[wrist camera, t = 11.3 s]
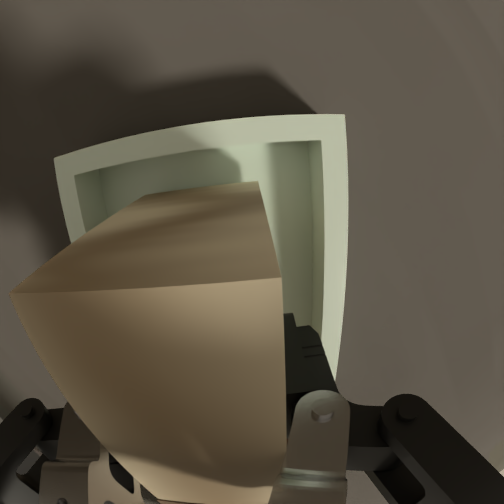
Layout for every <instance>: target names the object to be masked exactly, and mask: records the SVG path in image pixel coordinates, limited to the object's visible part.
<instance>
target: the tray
mask: <svg viewBox="0 0 504 504" xmlns="http://www.w3.org/2000/svg"><path fill="white" fill-rule="evenodd" d="M54 165H55V171H56V177H57V183H58V189H59V194H60V199H61V204H62V209H63V213H64V217H65V222H66V226H67V230H68V234H69V237H70V241H71V243H73V242H74V241H76V240H77V239H78V238H80V237H81V236H83V235H84V234H85V233H87V232H88V231H90V230H91V229H93V228H94V227H96V226H97V225H99V224H100V223H102V222H103V221H105V220H106V219H108V218H109V217H111V216H112V215H114V214H115V213H117V212H118V211H120V210H121V209H123V208H125V207H126V206H128V205H129V204H131V203H133V202H134V201H136V200H137V199H139V198H141V197H142V196H144V195H148V194H154V193H160V192H167V191H174V190H181V189H189V188H197V187H205V186H213V185H222V184H231V183H241V182H252V181H258V183H259V187H260V191H261V195H262V199H263V203H264V207H265V211H266V215H267V219H268V223H269V227H270V231H271V235H272V239H273V243H274V248H275V252H276V256H277V260H278V264H279V269H280V273H281V277H282V296H283V314H284V313H293V315H294V318H295V322H296V326H297V327H298V326H306V325H310V326H311V327H312V328H313V329H314V330H315V331H316V332H317V333H318V334H319V336H320V339H321V342H322V346H323V348H324V351H325V355H326V357H327V360H328V363H329V366H330V369H331V372H332V375H333V378H334V381H335V378H336V371H337V364H338V356H339V348H340V340H341V331H342V321H343V310H344V298H345V285H346V268H347V245H348V165H347V143H346V127H345V115H344V114H301V115H276V116H260V117H248V118H237V119H228V120H219V121H211V122H204V123H197V124H190V125H184V126H178V127H172V128H167V129H162V130H157V131H152V132H147V133H142V134H137V135H133V136H129V137H125V138H120V139H116V140H112V141H109V142H105V143H101V144H97V145H94V146H90V147H87V148H84V149H80V150H77V151H74V152H71V153H68V154H64V155H61V156H58V157H56V158H54Z"/></svg>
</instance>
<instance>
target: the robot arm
mask: <svg viewBox="0 0 504 504" xmlns="http://www.w3.org/2000/svg"><path fill="white" fill-rule="evenodd" d="M283 318H284V344H285V377H286V435H287V439H288V438H289V439H288V443H287V452H285V455H284V459H283V463H282V467H281V470H280V473H279V474H278V475H277V477H276V480H275V482H274V485H273V488H272V492H271V495H270V499H269V502H268V504H346V497H347V479H346V470H356V471H365V473H366V474H367V475H368V477H369V478H370V479H371V481H372V482H373V483H374V485H375V486H376V487H377V489H378V490H379V491H380V493H381V494H382V495H383V496H384V498H385V499H386V500H387V502H388V503H389V504H504V477H503V476H502V475H501V474H500V473H499V472H498V471H497V470H496V469H495V468H494V467H493V466H492V465H491V464H490V463H489V462H488V461H487V460H486V459H485V458H484V457H483V456H482V455H481V454H480V453H479V452H478V451H477V450H476V449H475V448H474V447H473V446H472V445H471V444H469V443H468V442H467V441H466V440H465V439H464V438H463V437H462V436H461V435H460V434H459V433H458V432H457V431H456V430H455V429H454V428H453V427H452V426H451V425H450V424H449V423H448V422H447V421H446V420H445V419H444V418H443V417H442V416H441V415H439V414H438V413H437V412H436V411H435V410H434V409H433V408H432V407H431V406H430V405H429V404H428V403H427V402H426V401H425V400H423V399H422V398H420V397H419V396H416V395H412V394H400V395H397V396H394V397H392V398H391V399H389V400H388V401H387V402H386V403H385V405H384V406H363V405H357V404H354V403H351V402H349V401H348V400H346V399H345V398H344V397H343V396H342V395H341V394H340V393H339V392H338V389H337V387H336V384H335V381H334V378H333V375H332V372H331V369H330V366H329V363H328V360H327V357H326V355H325V351H324V348H323V346H322V342H321V339H320V336H319V334H318V333H317V332H316V331H315V330H314V329H313V328H312V327H311V326H310V325H306V326H298V327H297V326H296V322H295V318H294V315H293V313H284V314H283ZM35 446H36V447H37V448H38V449H39V450H40V451H41V452H42V453H43V454H42V455H41V456H40V458H39V459H38V460H37V461H36V463H35V464H34V465H33V466H32V468H31V469H30V470H29V471H28V472H27V473H26V474H24V475H20V474H18V473H16V470H17V468H18V467H19V466H20V464H21V463H22V462H23V461H24V459H25V458H26V457H27V456H28V455H29V453H30V452H31V451H32V450H33V449H34V447H35ZM0 504H145V503H144V501H143V499H142V496H141V491H140V483H139V482H138V481H137V480H136V479H135V478H134V477H133V476H132V475H131V474H130V473H129V472H128V471H127V470H126V469H125V468H124V467H123V466H122V465H121V464H120V463H119V462H118V461H117V460H116V459H115V458H114V457H113V456H112V455H111V454H110V453H109V451H108V450H107V449H106V448H105V447H104V446H103V445H102V444H101V442H100V441H99V440H98V439H97V438H96V437H95V435H94V434H93V433H92V432H91V431H90V429H89V428H88V427H87V426H86V425H85V423H84V422H83V421H82V419H81V418H80V417H79V416H78V414H77V413H76V412H75V410H74V409H73V408H72V406H71V405H70V403H69V402H67V403H66V405H65V407H64V408H58V409H46V407H45V406H44V405H43V403H42V402H41V401H40V400H38V399H36V398H29V399H26V400H24V401H22V402H21V403H20V404H19V405H18V406H17V407H16V408H15V409H14V410H13V411H12V412H11V413H10V414H9V415H8V416H7V417H6V418H5V419H4V420H3V422H2V423H1V424H0Z"/></svg>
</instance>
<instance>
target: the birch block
mask: <svg viewBox="0 0 504 504" xmlns="http://www.w3.org/2000/svg"><path fill="white" fill-rule="evenodd" d="M9 296H10V298H11V300H12V303H13V305H14V307H15V310H16V312H17V314H18V316H19V318H20V321H21V323H22V325H23V327H24V329H25V331H26V333H27V335H28V337H29V339H30V340H31V342H32V344H33V346H34V348H35V350H36V352H37V353H38V355H39V357H40V359H41V360H42V362H43V364H44V365H45V367H46V369H47V370H48V372H49V374H50V375H51V377H52V378H53V380H54V381H55V383H56V385H57V386H58V388H59V389H60V391H61V392H62V393H63V395H64V396H65V398H66V399H67V401H68V402H69V403H70V405H71V406H72V408H73V409H74V410H75V412H76V413H77V414H78V416H79V417H80V418H81V419H82V421H83V422H84V423H85V425H86V426H87V427H88V428H89V429H90V431H91V432H92V433H93V434H94V435H95V437H96V438H97V439H98V440H99V441H100V442H101V444H102V445H103V446H104V447H105V448H106V449H107V450H108V451H109V453H110V454H111V455H112V456H113V457H114V458H115V459H116V460H117V461H118V462H119V463H120V464H121V465H122V466H123V467H124V468H125V469H126V470H127V471H128V472H129V473H130V474H131V475H132V476H133V477H134V478H135V479H136V480H137V481H138V482H139V483H141V484H142V485H143V486H144V487H145V488H146V489H147V490H148V491H150V492H151V493H152V494H153V495H154V496H155V497H157V501H159V502H160V503H161V504H268V502H269V499H270V495H271V492H272V488H273V485H274V482H275V480H276V477H277V475H278V474H279V473H280V470H281V467H282V463H283V459H284V455H285V452H287V435H286V377H285V344H284V318H283V296H282V277H281V273H280V269H279V264H278V260H277V256H276V252H275V248H274V243H273V239H272V235H271V231H270V227H269V223H268V219H267V215H266V211H265V207H264V203H263V199H262V195H261V191H260V187H259V183H258V181H252V182H241V183H231V184H222V185H213V186H205V187H197V188H189V189H181V190H174V191H167V192H160V193H154V194H148V195H144V196H142V197H141V198H139V199H137V200H136V201H134V202H133V203H131V204H129V205H128V206H126V207H125V208H123V209H121V210H120V211H118V212H117V213H115V214H114V215H112V216H111V217H109V218H108V219H106V220H105V221H103V222H102V223H100V224H99V225H97V226H96V227H94V228H93V229H91V230H90V231H88V232H87V233H85V234H84V235H83V236H81V237H80V238H78V239H77V240H76V241H74V242H73V243H71V244H70V245H69V246H67V247H66V248H65V249H63V250H62V251H61V252H59V253H58V254H57V255H55V256H54V257H53V258H51V259H50V260H49V261H47V262H46V263H45V264H44V265H42V266H41V267H40V268H38V269H37V270H36V271H35V272H34V273H32V274H31V275H30V276H29V277H27V278H26V279H25V280H24V281H23V282H21V283H20V284H19V285H18V286H17V287H16V288H14V289H13V290H12V291H11V292H10V293H9Z"/></svg>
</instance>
